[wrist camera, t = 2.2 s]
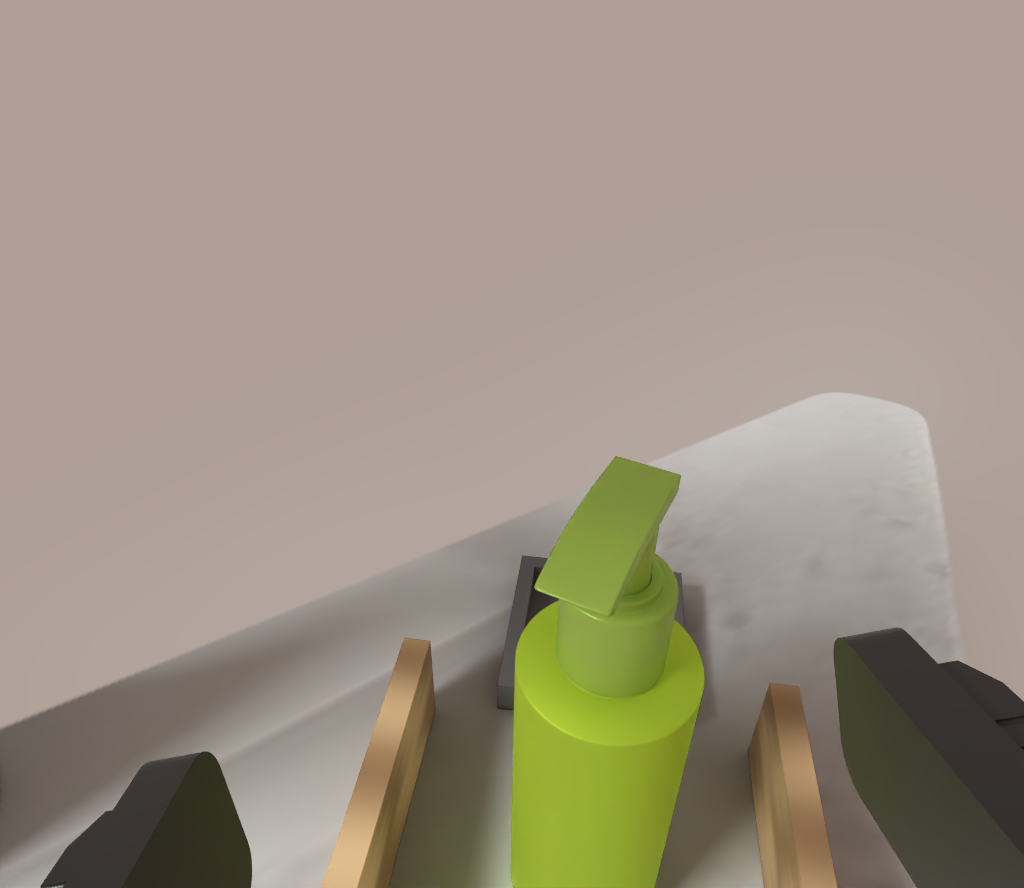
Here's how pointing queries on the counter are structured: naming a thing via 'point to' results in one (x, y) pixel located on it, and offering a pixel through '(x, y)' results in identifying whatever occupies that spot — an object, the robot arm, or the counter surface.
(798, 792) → the oak channel
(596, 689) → the soap dispenser
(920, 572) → the counter surface
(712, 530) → the counter surface
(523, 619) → the pit tray
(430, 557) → the counter surface
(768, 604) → the counter surface
